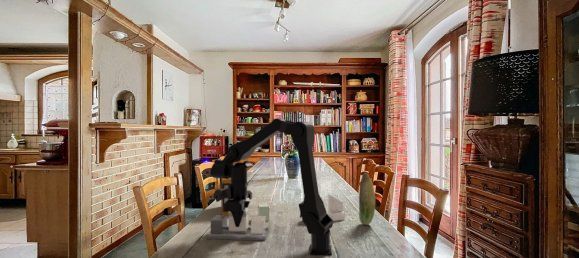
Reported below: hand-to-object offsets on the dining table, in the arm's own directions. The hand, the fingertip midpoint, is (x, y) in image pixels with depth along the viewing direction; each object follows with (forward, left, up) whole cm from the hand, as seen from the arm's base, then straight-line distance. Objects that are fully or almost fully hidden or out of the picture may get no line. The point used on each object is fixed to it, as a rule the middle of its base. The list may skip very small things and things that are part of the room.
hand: (238, 224), depth 102 cm
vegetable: (+14, -47, -4) cm, 49 cm away
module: (0, 0, -2) cm, 2 cm away
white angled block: (+21, -36, -4) cm, 42 cm away
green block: (+18, -6, -4) cm, 19 cm away
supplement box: (+31, +10, -4) cm, 33 cm away
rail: (0, 0, -4) cm, 4 cm away
